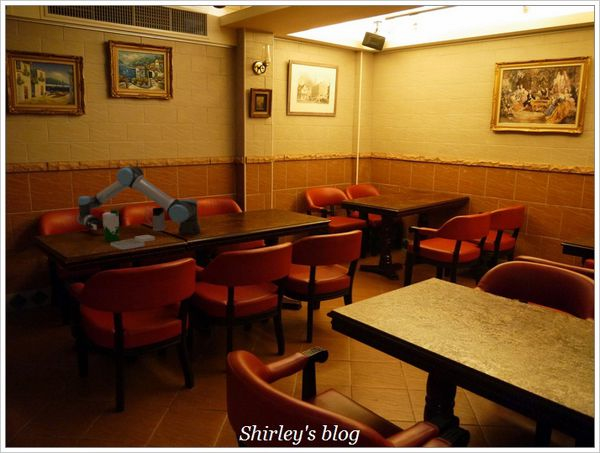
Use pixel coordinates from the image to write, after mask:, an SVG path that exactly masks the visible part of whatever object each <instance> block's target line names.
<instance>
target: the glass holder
mask: <svg viewBox="0 0 600 453" xmlns="http://www.w3.org/2000/svg"><path fill="white" fill-rule="evenodd" d="M147 211H149V212H150V216H151V217H152V222H151V221H150V220H149V218H148V216H147ZM145 217H146V220H147V221H148V222H149V223H150V224H151V225H152V227H153V228H152V231H156V232H161V231H165V230H166V227H165V225H166V224H165V223H166V222H165V209H164V208H163V207H153V208H152V211H151V210H150V209H146V210H145Z"/></svg>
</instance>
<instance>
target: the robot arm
mask: <svg viewBox="0 0 600 453" xmlns="http://www.w3.org/2000/svg"><path fill="white" fill-rule="evenodd" d="M116 178H117V180H116V181H115V182H113V183H112V184H110V185H109V186H107V187H106V188H104V189H103V190H101V191H100V192H98V193H97V194H95V195H94V196H92V197H90V196H87V195H86V196H85V195H84V196H79V197H78V201H77V202H78V213H79V214H78V216H77V218H76V219H77V221H78V223H79V224H81V225H83V226H84V227H85V229H88V230H92V229H93V230H95V231H96V230H97V231H98V229H97V228H98V226H100V227H101V226H103V219H100V218H98V217H97V216H95V215H92V209H96V208H100V207H101V206H103V204H104V203H106V202H107V201H109V200H110V199H112V198H114V197H115V196H117V195H118V194H120V193H121V192H123V191H124V190H126V189H127V188H130V189H131V190H132V191H133V190H137V191H139V193H141V194H143V195H144V196H145V197H147V198H148V199H149V200H151V201H152V202H154V203H156V204H157V205H158V206H160V208H164V211H165V213H166V214H167V215H169V219H171V220H172V221H173V222H175V223H179V226H178V229H177V231H178V234H179V235H189V236H190V235H197V234H200V233H201V232H202V231H201V230H202V229H201V227H200V224H199V221H198V219H199V218H198V216H199V215H198V213H199V212H198V201H197V199H187V198H186V199H184V198H183V199H178V198H173V197H171V196H170V195H168V194H166V192H164V191H162V190H161V189H159V188H158V187H157V186H155V185H154V184H153V183H151V182H149V181H148V180H147V179H146V178H145V177H144V171H143V169H142V168H141V167H140V166H136V165H131V166H126V167H122V168H120V169H119V170H118V172H117V174H116Z"/></svg>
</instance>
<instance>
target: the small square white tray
mask: <svg viewBox="0 0 600 453" xmlns="http://www.w3.org/2000/svg"><path fill="white" fill-rule="evenodd" d="M134 239H135V240H138V241H141V242H144V243H145V242H151V241H156V237H155V236H153V235H149V234H144V235H138V236H134Z"/></svg>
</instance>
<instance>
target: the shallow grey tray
mask: <svg viewBox="0 0 600 453" xmlns="http://www.w3.org/2000/svg"><path fill="white" fill-rule="evenodd" d="M145 244H146V243H145V242H141V241H138V240H135V238H129V239H123V240H122V239H121V240H118V241H116V242H110V246H111V247H113V246H114V248H116V249H119V250H122V251H124V250H129V249H135V248H140V247H141V248H142V247H145V246H146V245H145Z"/></svg>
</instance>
